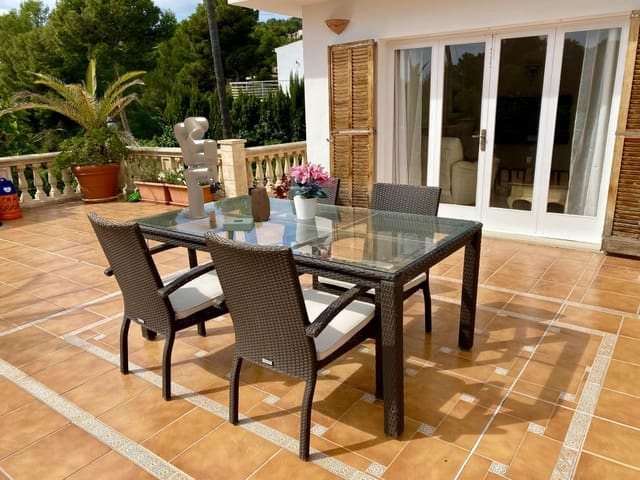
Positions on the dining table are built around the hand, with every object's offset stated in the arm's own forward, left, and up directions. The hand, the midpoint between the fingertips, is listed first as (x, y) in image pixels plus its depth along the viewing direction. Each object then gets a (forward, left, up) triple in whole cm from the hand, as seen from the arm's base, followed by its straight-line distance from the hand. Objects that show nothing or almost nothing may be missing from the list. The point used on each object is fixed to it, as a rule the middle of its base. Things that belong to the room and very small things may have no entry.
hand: (213, 192), depth 283 cm
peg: (-2, -1, -21) cm, 21 cm away
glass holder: (+21, +46, -21) cm, 55 cm away
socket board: (+13, -2, -21) cm, 25 cm away
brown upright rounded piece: (+25, +16, -21) cm, 37 cm away
